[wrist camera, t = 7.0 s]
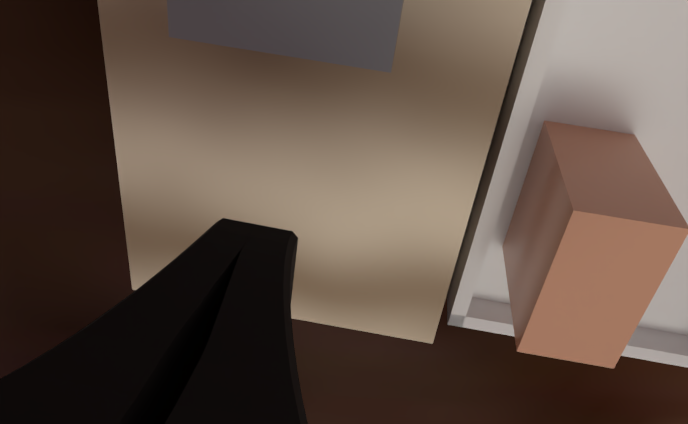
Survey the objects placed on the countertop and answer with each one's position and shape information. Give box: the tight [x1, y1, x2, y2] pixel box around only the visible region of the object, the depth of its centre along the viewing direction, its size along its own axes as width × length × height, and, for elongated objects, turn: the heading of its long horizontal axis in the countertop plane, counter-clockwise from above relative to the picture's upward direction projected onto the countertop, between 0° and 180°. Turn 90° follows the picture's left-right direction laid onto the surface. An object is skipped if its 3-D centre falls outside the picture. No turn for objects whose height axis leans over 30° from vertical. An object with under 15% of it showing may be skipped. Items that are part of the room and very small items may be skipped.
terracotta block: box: [502, 121, 688, 368], centre depth 16 cm, size 4×4×2 cm
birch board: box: [97, 0, 532, 344], centre depth 16 cm, size 16×10×2 cm, turn 173°
